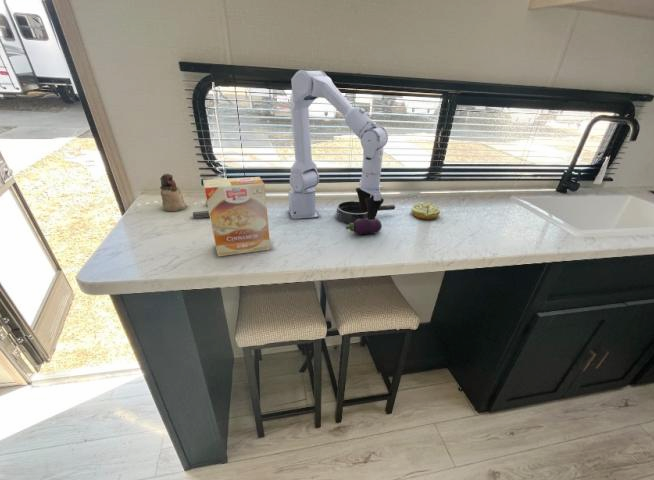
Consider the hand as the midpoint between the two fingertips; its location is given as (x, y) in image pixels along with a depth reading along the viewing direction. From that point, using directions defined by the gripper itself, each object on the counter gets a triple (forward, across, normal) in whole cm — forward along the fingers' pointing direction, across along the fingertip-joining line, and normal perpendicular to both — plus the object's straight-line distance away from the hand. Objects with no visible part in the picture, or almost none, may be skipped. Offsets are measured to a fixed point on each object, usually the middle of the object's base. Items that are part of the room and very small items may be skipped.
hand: (367, 214), depth 109 cm
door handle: (+7, +25, +47) cm, 54 cm away
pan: (+6, +13, 0) cm, 14 cm away
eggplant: (+6, 0, +1) cm, 6 cm away
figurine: (+7, +32, +62) cm, 70 cm away
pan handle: (+4, +13, -11) cm, 17 cm away
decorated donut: (+6, +11, -28) cm, 31 cm away
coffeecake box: (+7, -4, +40) cm, 41 cm away
